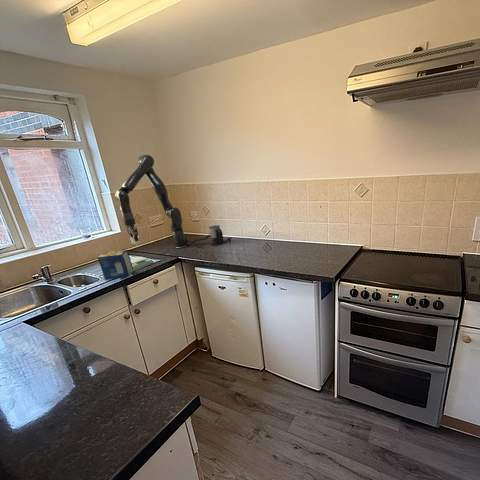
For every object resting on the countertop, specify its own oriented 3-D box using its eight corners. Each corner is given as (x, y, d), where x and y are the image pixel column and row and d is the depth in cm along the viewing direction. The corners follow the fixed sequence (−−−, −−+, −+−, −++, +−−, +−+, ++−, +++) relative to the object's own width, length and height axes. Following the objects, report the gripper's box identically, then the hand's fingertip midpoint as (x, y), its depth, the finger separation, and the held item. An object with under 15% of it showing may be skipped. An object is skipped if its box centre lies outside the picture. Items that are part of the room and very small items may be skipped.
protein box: (111, 274, 204) (104, 252, 198) (134, 271, 204) (127, 249, 199) (104, 279, 194) (96, 257, 189) (128, 276, 195) (121, 254, 189)
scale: (142, 259, 229) (141, 255, 228) (152, 262, 218) (151, 258, 217) (124, 265, 220) (122, 261, 219) (133, 269, 209) (132, 264, 208)
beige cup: (138, 241, 231) (136, 235, 229) (142, 242, 227) (140, 236, 225) (130, 244, 227) (128, 237, 225) (134, 245, 223) (132, 238, 221)
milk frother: (209, 245, 248) (206, 227, 243) (222, 239, 260) (219, 223, 255) (222, 246, 241) (219, 228, 235) (234, 240, 253) (231, 223, 248)
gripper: (137, 218, 217) (143, 240, 223) (129, 217, 227) (135, 238, 233) (127, 220, 212) (134, 242, 218) (119, 219, 222) (126, 240, 228)
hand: (134, 240), depth 226 cm, fingers closed on beige cup, 6 cm apart
